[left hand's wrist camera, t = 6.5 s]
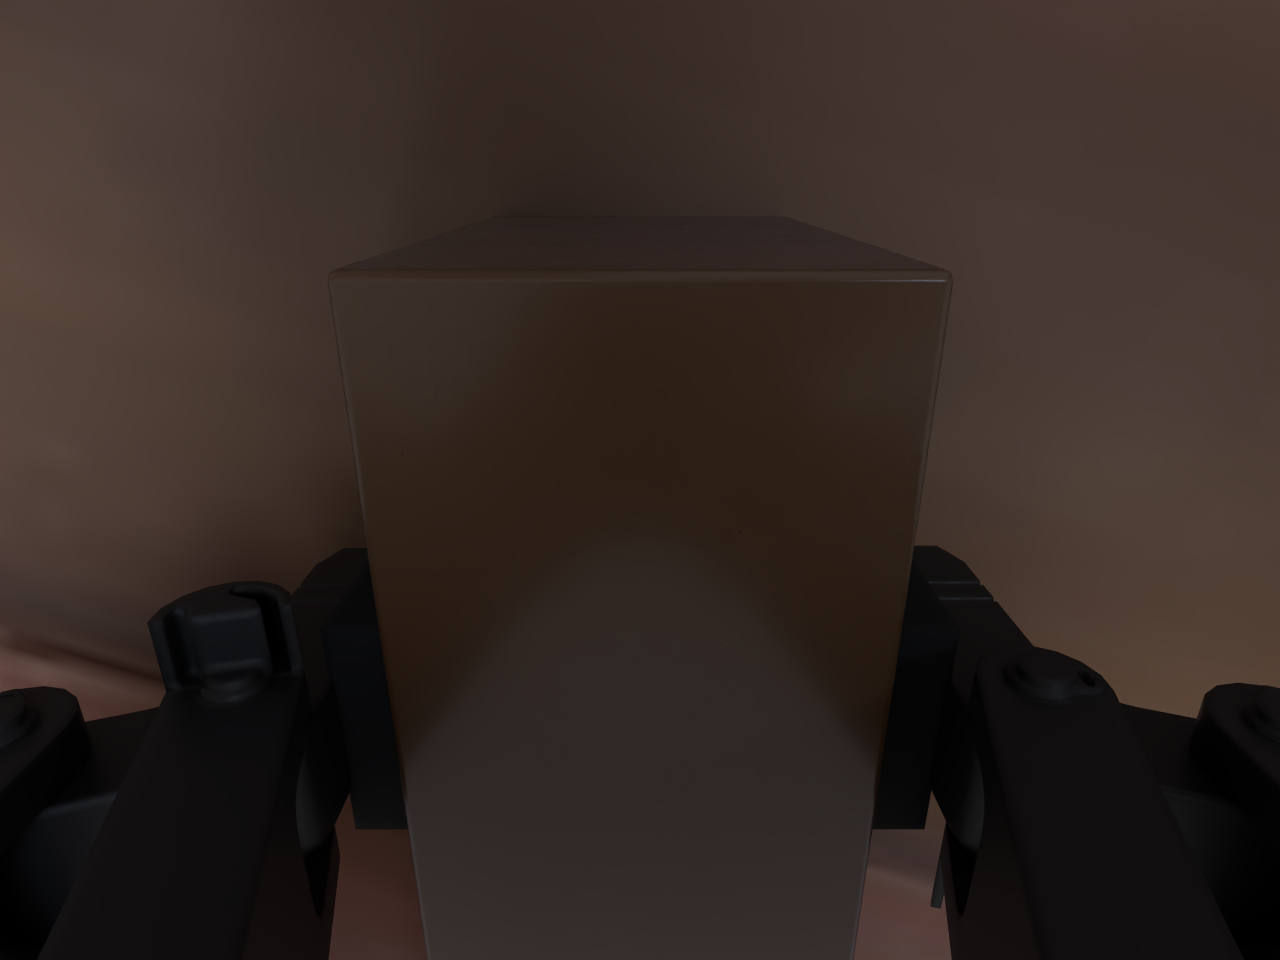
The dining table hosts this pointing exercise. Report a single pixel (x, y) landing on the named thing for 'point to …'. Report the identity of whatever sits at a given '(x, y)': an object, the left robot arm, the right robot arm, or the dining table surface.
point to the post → (640, 571)
